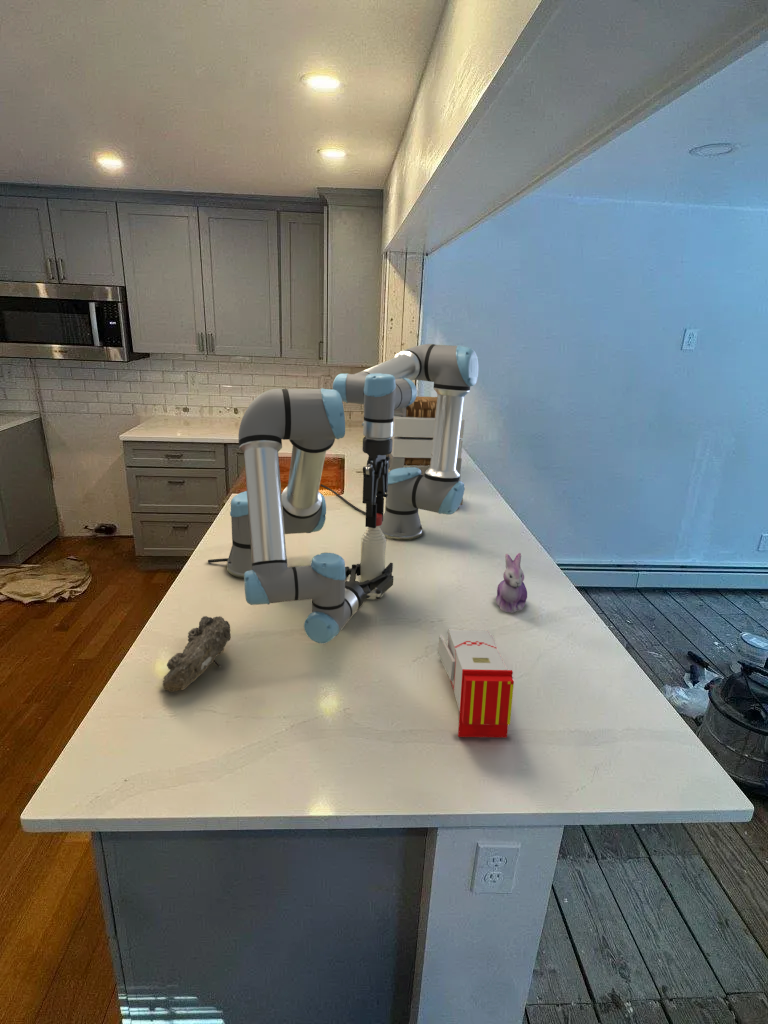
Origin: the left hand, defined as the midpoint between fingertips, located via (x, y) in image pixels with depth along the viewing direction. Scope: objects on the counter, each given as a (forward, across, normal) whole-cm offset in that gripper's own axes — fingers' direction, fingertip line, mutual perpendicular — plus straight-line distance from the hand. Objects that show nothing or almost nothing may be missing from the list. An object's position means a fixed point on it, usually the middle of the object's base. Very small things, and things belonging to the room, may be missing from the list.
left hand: (379, 564), depth 160 cm
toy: (-36, +35, -7) cm, 51 cm away
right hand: (-5, 0, +14) cm, 15 cm away
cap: (-5, 0, +16) cm, 17 cm away
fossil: (-51, -21, -7) cm, 56 cm away
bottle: (-5, 0, -7) cm, 8 cm away
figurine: (+5, +37, -7) cm, 38 cm away
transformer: (+119, -24, -7) cm, 122 cm away
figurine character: (+80, +2, -7) cm, 80 cm away
